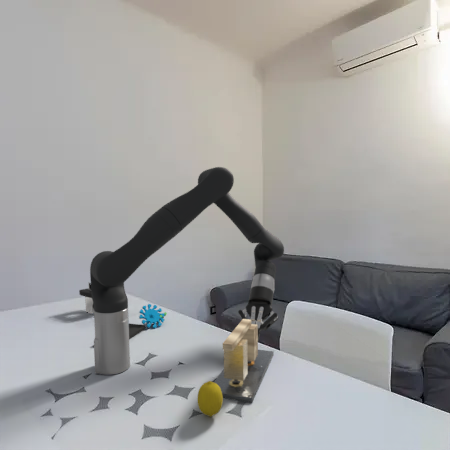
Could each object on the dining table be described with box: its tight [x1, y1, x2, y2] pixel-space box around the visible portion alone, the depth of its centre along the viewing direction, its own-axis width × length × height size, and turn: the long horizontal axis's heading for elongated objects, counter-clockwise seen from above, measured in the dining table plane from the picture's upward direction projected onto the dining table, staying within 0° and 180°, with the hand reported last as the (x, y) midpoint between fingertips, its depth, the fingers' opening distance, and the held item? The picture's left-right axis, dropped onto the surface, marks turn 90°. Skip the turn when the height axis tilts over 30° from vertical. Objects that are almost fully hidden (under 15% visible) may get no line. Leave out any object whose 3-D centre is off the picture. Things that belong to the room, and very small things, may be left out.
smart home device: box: [129, 322, 147, 341], centre depth 128 cm, size 8×2×20 cm
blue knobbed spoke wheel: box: [138, 303, 168, 329], centre depth 140 cm, size 11×6×10 cm
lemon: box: [197, 380, 224, 418], centre depth 80 cm, size 6×6×8 cm
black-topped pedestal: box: [79, 281, 94, 314], centre depth 155 cm, size 28×26×13 cm
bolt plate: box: [213, 339, 274, 404], centre depth 100 cm, size 27×11×12 cm, turn 162°
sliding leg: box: [222, 318, 259, 361], centre depth 95 cm, size 20×5×12 cm, turn 162°
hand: (253, 341), depth 109 cm, fingers closed
